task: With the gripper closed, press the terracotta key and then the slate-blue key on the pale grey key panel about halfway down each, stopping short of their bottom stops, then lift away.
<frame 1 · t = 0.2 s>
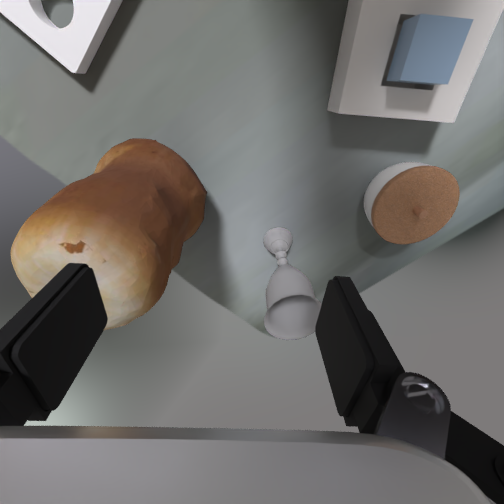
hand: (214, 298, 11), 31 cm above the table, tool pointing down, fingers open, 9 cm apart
chalice: (277, 239, 45), on the table
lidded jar: (387, 189, 41), on the table
butternut squash: (166, 181, 39), on the table
slate-blue key: (425, 52, 26), point 7 cm above the table, slide at 0.0 cm
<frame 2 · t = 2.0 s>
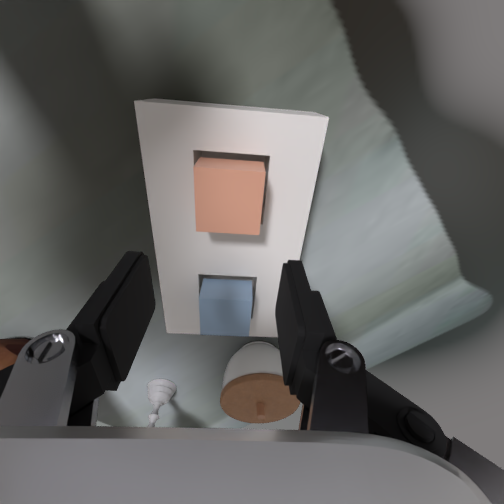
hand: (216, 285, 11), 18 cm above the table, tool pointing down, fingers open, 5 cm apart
key panel: (231, 227, 29), on the table
chalice: (162, 386, 46), on the table
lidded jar: (258, 352, 41), on the table
butternut squash: (36, 349, 40), on the table
terracotta key: (229, 196, 21), point 6 cm above the table, slide at 0.0 cm
slate-blue key: (226, 307, 27), point 6 cm above the table, slide at 0.0 cm
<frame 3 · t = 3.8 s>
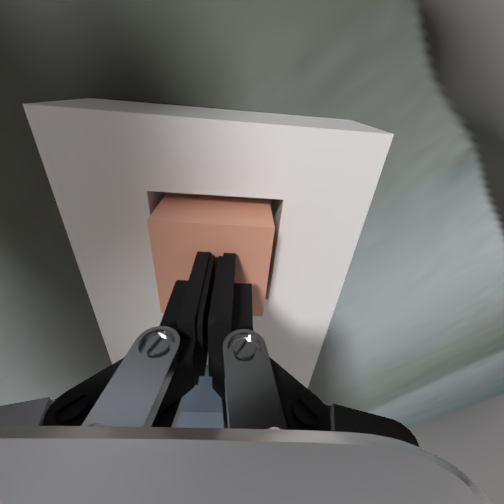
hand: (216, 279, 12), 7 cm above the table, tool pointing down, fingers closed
key panel: (221, 282, 21), on the table
terracotta key: (215, 255, 13), point 5 cm above the table, slide at 1.2 cm, touching gripper
slate-blue key: (213, 407, 18), point 6 cm above the table, slide at 0.0 cm
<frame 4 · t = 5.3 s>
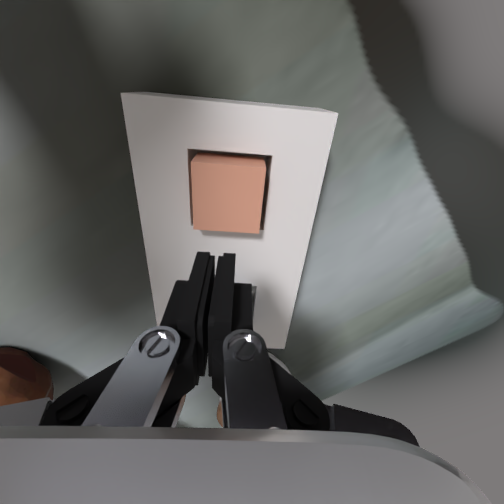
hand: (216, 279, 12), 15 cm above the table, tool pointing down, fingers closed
key panel: (229, 231, 27), on the table
butternut squash: (24, 358, 38), on the table
terracotta key: (228, 193, 20), point 5 cm above the table, slide at 1.4 cm
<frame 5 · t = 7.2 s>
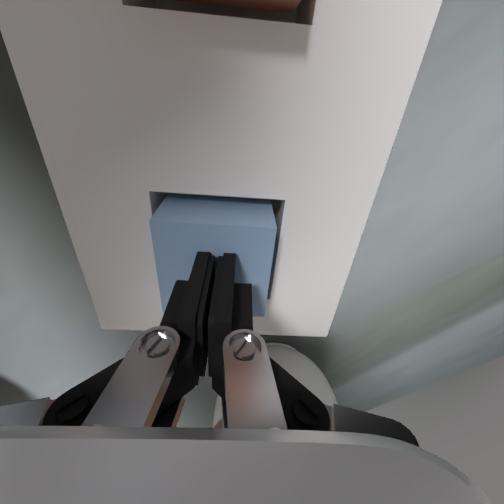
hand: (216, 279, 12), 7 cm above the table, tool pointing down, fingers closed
key panel: (226, 109, 14), on the table
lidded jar: (270, 360, 26), on the table
slate-blue key: (217, 256, 13), point 5 cm above the table, slide at 1.2 cm, touching gripper
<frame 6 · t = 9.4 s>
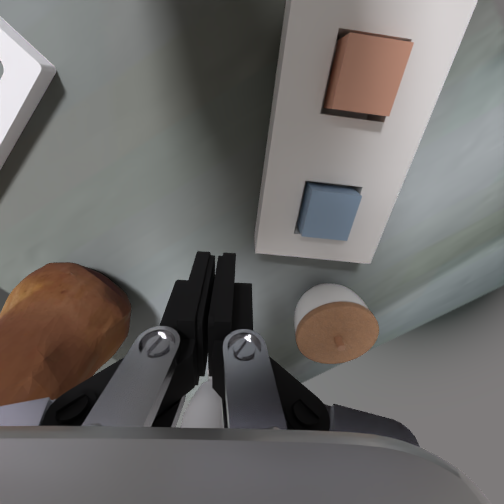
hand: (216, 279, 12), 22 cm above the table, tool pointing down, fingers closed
key panel: (328, 145, 29), on the table
chalice: (217, 335, 45), on the table
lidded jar: (322, 298, 41), on the table
butternut squash: (99, 284, 39), on the table
terracotta key: (363, 78, 22), point 5 cm above the table, slide at 1.4 cm
slate-blue key: (326, 211, 28), point 5 cm above the table, slide at 1.4 cm
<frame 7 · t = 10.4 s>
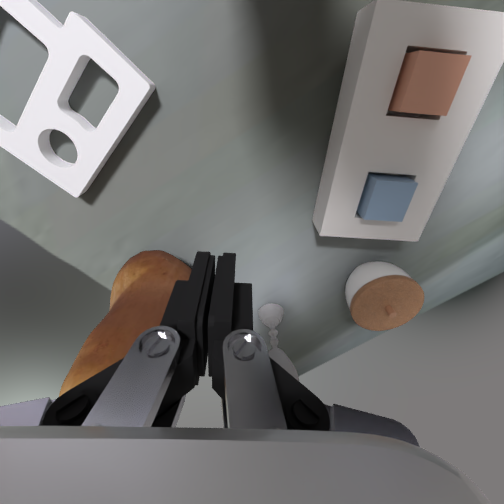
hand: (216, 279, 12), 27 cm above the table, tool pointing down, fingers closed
key panel: (382, 139, 34), on the table
chalice: (271, 312, 51), on the table
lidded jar: (367, 275, 46), on the table
butternut squash: (172, 270, 45), on the table
terracotta key: (425, 85, 27), point 5 cm above the table, slide at 1.4 cm
slate-blue key: (384, 197, 33), point 5 cm above the table, slide at 1.4 cm
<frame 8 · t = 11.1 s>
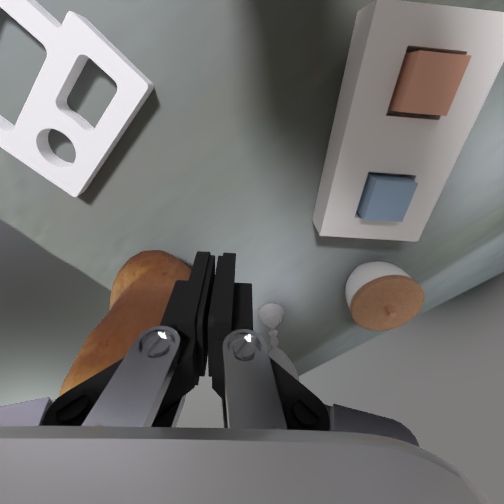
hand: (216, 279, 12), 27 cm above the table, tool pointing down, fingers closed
key panel: (382, 139, 34), on the table
chalice: (271, 312, 51), on the table
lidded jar: (367, 275, 46), on the table
butternut squash: (172, 270, 45), on the table
terracotta key: (425, 85, 27), point 5 cm above the table, slide at 1.4 cm
slate-blue key: (384, 197, 33), point 5 cm above the table, slide at 1.4 cm
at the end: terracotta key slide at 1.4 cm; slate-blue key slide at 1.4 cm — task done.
